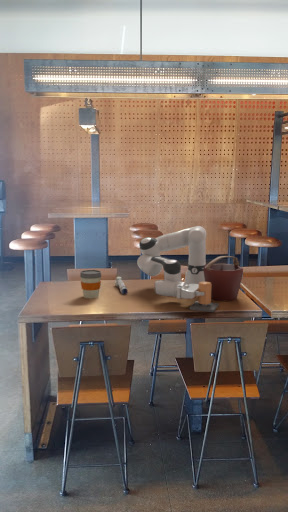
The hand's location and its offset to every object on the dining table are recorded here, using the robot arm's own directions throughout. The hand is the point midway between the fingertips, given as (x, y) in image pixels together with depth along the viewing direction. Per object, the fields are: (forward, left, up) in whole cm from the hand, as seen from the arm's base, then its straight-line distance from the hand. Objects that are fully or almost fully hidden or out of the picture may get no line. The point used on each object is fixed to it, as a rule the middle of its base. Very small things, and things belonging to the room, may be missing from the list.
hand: (206, 292), depth 245 cm
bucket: (-25, +4, -9) cm, 27 cm away
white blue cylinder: (-21, -61, -9) cm, 65 cm away
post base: (0, -1, -9) cm, 9 cm away
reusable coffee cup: (+2, -70, -9) cm, 70 cm away
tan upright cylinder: (0, -1, -6) cm, 6 cm away
